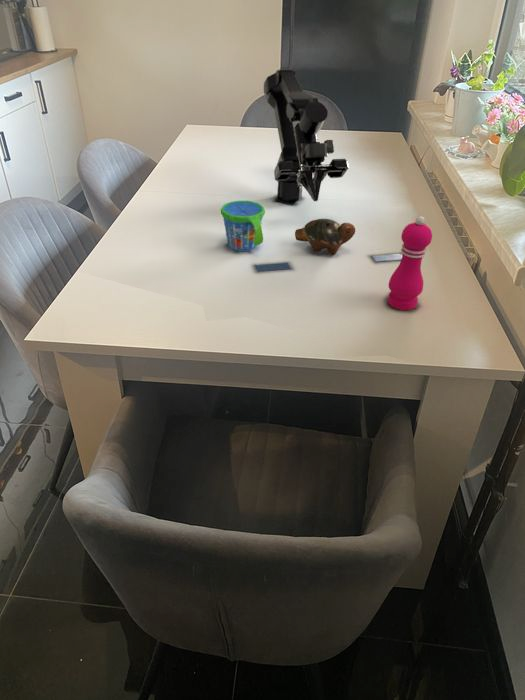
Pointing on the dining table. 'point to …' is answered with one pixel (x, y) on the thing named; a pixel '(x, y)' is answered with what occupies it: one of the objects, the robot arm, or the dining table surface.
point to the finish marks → (285, 266)
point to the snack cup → (243, 224)
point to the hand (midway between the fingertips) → (316, 200)
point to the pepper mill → (410, 266)
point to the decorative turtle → (325, 234)
